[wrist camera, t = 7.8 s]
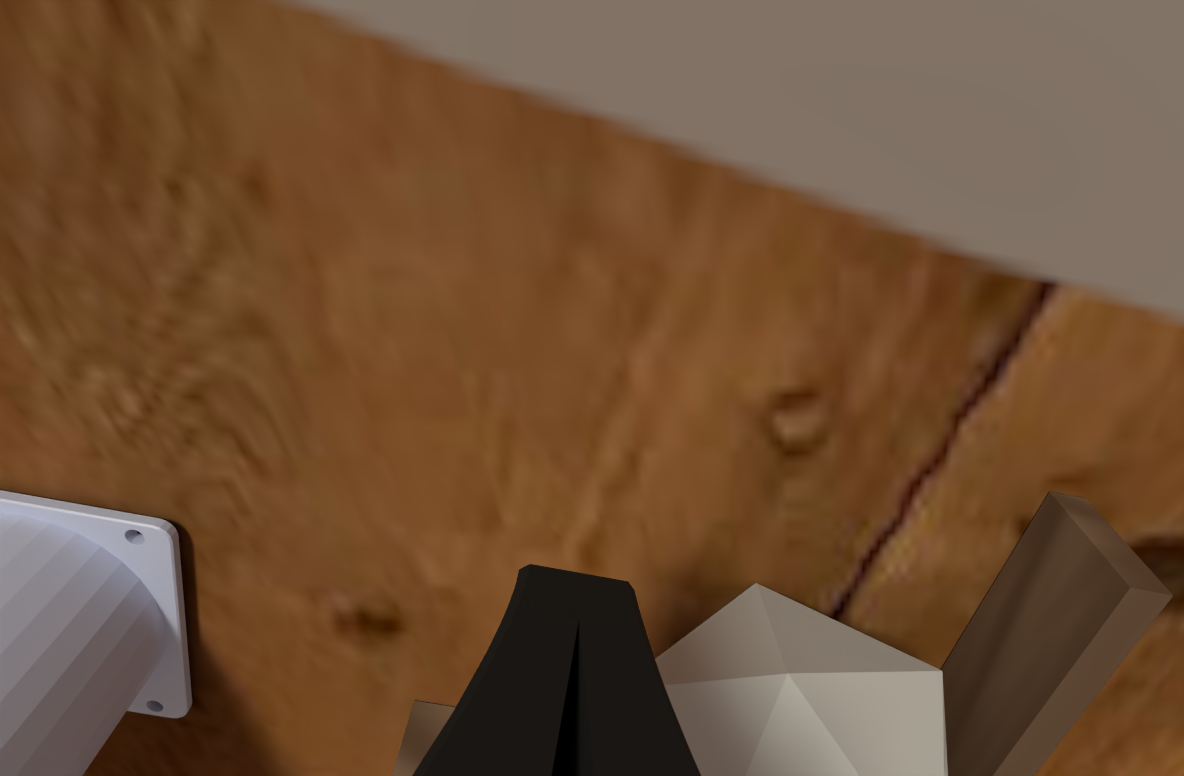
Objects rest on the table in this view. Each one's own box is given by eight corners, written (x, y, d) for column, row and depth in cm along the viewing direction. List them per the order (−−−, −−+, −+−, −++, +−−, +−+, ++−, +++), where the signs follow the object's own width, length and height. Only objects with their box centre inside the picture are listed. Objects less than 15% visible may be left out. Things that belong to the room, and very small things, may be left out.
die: (793, 763, 26) (1080, 975, 17) (569, 871, 22) (796, 1211, 14) (774, 535, 25) (1070, 640, 16) (537, 608, 21) (759, 793, 13)
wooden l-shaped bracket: (409, 734, 25) (374, 857, 21) (455, 377, 18) (416, 470, 15) (903, 814, 26) (947, 944, 22) (1110, 503, 19) (1218, 618, 16)
